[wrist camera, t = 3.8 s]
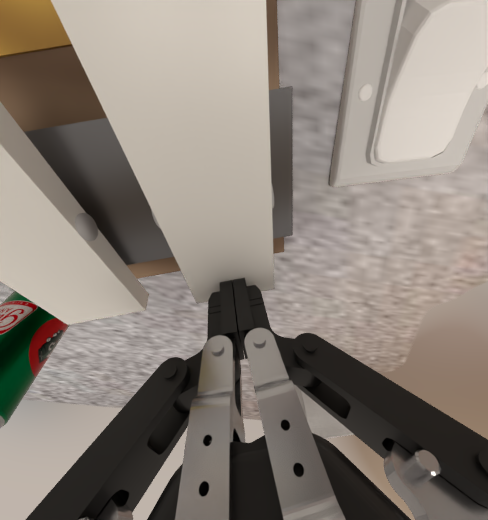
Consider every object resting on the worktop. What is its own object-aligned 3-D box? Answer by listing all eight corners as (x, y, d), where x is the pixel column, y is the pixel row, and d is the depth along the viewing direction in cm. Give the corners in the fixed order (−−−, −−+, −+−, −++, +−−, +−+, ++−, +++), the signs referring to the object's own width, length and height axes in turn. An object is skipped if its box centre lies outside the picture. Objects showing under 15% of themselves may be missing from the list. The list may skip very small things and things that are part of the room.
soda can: (57, 264, 20) (-87, 413, 10) (97, 298, 23) (15, 439, 13) (13, 282, 21) (-162, 440, 11) (58, 313, 24) (-48, 459, 14)
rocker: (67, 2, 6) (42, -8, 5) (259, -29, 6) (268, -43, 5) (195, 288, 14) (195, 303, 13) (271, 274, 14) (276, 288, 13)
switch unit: (-83, 11, 11) (-405, -89, 5) (270, -45, 11) (331, -198, 5) (104, 278, 22) (66, 340, 16) (281, 246, 22) (305, 295, 16)
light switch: (645, -127, 9) (488, 180, 16) (527, -59, 13) (439, 170, 20) (406, -114, 9) (349, 198, 16) (351, -47, 12) (325, 184, 19)
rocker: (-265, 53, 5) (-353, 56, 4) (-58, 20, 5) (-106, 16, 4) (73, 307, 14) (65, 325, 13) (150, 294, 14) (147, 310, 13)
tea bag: (291, 360, 36) (314, 435, 28) (330, 356, 36) (363, 428, 28) (288, 372, 38) (308, 444, 30) (324, 368, 39) (354, 437, 31)
